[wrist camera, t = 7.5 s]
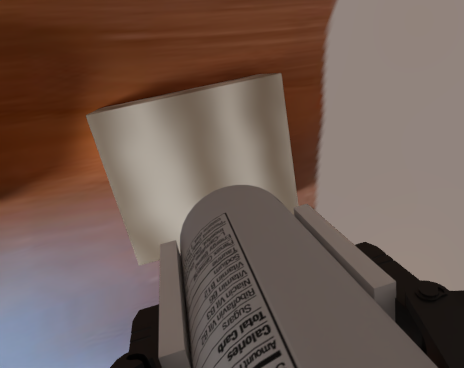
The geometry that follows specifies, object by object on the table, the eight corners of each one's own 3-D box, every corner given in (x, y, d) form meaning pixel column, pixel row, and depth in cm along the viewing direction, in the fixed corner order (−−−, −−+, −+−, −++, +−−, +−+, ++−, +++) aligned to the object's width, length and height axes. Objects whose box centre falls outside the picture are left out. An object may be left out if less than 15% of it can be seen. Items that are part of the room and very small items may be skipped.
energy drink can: (260, 285, 19) (520, 839, 5) (164, 264, 17) (167, 1020, 3) (301, 196, 18) (799, 626, 4) (200, 163, 16) (454, 748, 2)
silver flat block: (142, 235, 35) (139, 265, 29) (100, 108, 30) (85, 115, 24) (279, 198, 37) (300, 220, 31) (260, 74, 32) (281, 73, 26)
